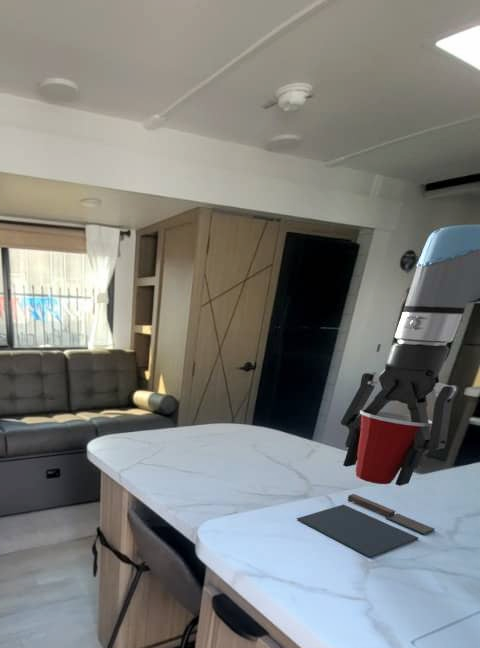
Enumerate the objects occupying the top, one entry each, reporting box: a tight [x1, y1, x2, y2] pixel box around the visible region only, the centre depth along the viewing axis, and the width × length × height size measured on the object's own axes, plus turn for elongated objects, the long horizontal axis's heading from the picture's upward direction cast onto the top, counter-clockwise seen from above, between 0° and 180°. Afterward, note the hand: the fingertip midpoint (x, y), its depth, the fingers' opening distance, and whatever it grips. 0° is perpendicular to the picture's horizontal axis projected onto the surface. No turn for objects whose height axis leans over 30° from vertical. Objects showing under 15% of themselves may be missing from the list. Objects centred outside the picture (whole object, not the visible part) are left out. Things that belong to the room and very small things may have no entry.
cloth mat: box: [296, 503, 419, 559], centre depth 79 cm, size 15×15×1 cm
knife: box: [347, 493, 435, 536], centre depth 85 cm, size 16×4×1 cm, turn 27°
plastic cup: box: [355, 408, 433, 485], centre depth 72 cm, size 11×11×12 cm
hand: (374, 473), depth 74 cm, fingers closed on plastic cup, 9 cm apart
